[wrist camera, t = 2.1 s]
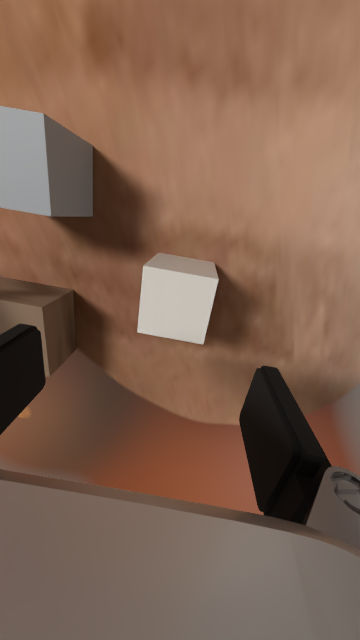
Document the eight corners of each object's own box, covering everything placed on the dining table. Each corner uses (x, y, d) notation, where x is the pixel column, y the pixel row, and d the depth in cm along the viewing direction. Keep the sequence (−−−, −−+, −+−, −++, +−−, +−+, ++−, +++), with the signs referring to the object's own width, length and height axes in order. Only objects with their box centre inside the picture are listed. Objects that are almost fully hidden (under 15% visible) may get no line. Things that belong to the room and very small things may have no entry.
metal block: (74, 289, 23) (41, 307, 18) (76, 348, 26) (49, 376, 21) (5, 277, 23) (-44, 292, 18) (16, 337, 26) (-24, 363, 21)
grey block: (92, 145, 17) (43, 113, 12) (93, 216, 19) (51, 216, 14) (29, 134, 17) (-49, 97, 12) (36, 206, 20) (-28, 202, 14)
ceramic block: (214, 262, 20) (218, 279, 15) (202, 313, 22) (203, 344, 17) (158, 252, 20) (143, 265, 15) (152, 304, 22) (137, 332, 17)
